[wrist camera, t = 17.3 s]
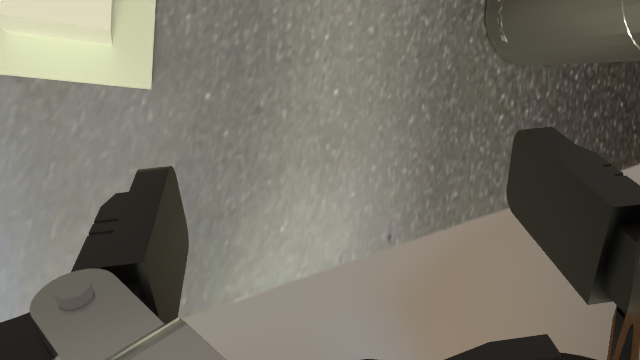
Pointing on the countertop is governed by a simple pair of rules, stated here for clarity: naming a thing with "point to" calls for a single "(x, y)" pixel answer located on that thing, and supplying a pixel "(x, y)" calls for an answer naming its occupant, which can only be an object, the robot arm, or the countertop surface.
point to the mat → (88, 52)
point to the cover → (60, 19)
